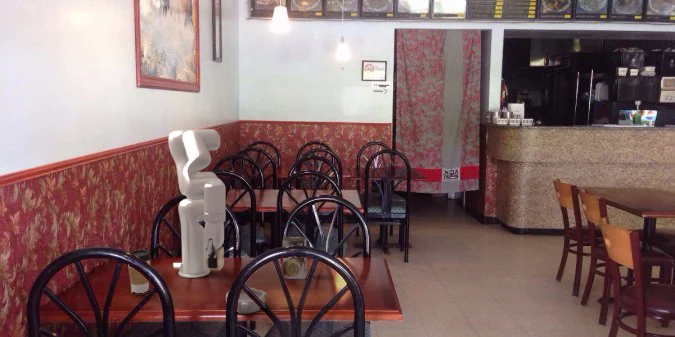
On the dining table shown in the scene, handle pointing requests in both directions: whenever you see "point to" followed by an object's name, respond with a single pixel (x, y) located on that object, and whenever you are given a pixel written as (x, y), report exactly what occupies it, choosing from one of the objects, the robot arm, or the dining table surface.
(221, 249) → the maple block
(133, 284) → the coffee cup
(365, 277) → the dining table surface
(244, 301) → the dish
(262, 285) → the dining table surface
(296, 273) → the coffee box
